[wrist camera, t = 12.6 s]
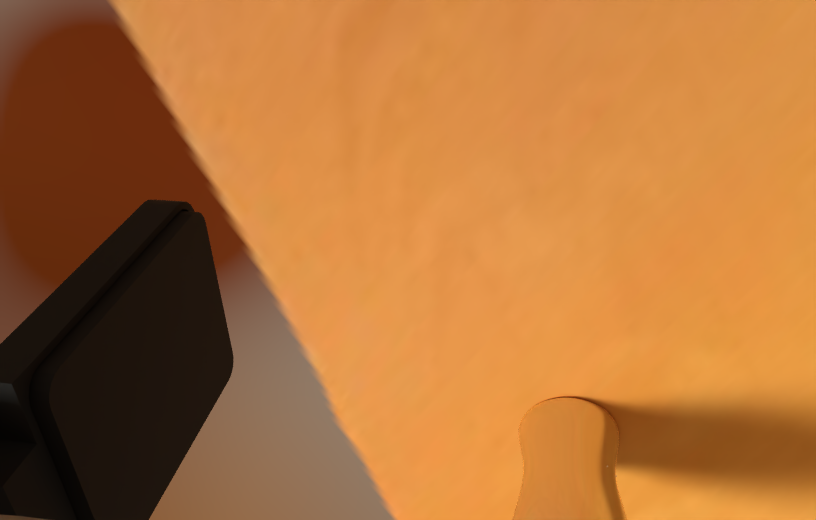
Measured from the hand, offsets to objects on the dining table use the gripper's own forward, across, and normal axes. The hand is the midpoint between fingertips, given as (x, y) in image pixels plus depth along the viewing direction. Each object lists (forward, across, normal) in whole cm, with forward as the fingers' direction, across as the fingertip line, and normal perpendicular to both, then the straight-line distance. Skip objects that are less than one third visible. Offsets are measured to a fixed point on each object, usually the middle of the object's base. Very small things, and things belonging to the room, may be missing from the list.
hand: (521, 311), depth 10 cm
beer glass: (+26, -3, +28) cm, 38 cm away
